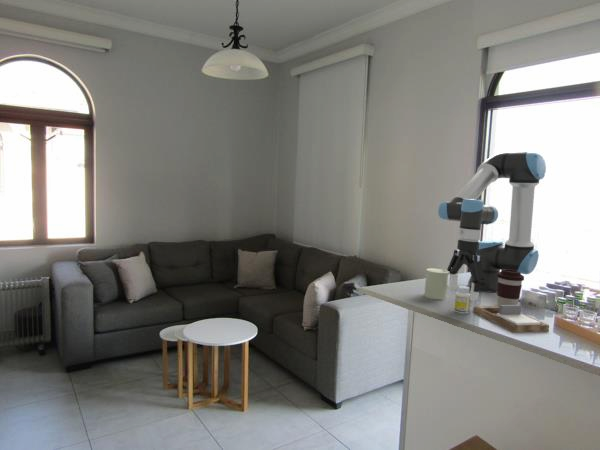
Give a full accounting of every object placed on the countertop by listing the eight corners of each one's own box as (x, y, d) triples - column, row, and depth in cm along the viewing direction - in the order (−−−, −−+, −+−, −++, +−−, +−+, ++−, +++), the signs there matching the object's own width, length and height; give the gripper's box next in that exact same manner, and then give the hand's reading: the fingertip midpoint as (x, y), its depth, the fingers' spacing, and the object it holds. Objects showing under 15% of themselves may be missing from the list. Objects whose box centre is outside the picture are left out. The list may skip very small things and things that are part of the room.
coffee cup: (488, 303, 176) (492, 268, 174) (505, 302, 180) (509, 267, 178) (508, 311, 167) (512, 273, 165) (526, 309, 170) (530, 272, 169)
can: (447, 300, 177) (450, 272, 176) (424, 298, 179) (427, 270, 177) (444, 295, 186) (447, 268, 185) (423, 292, 188) (425, 266, 186)
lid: (519, 315, 154) (520, 304, 153) (540, 324, 144) (541, 313, 144) (496, 315, 152) (497, 304, 151) (516, 325, 142) (518, 313, 141)
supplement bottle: (462, 309, 165) (465, 285, 164) (472, 313, 160) (474, 288, 159) (451, 310, 163) (453, 285, 162) (460, 314, 158) (463, 289, 157)
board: (504, 311, 166) (505, 305, 166) (548, 331, 145) (549, 324, 144) (473, 311, 163) (473, 305, 162) (513, 332, 141) (514, 325, 141)
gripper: (441, 235, 170) (436, 286, 172) (481, 244, 146) (474, 304, 148) (458, 236, 172) (452, 286, 174) (499, 245, 147) (493, 304, 149)
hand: (462, 295), depth 161 cm, fingers open, 13 cm apart
